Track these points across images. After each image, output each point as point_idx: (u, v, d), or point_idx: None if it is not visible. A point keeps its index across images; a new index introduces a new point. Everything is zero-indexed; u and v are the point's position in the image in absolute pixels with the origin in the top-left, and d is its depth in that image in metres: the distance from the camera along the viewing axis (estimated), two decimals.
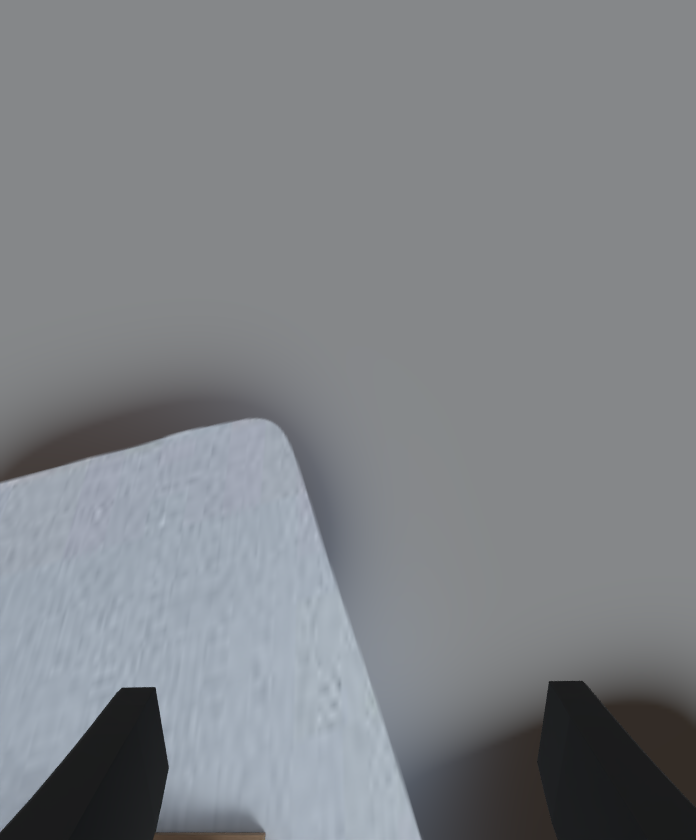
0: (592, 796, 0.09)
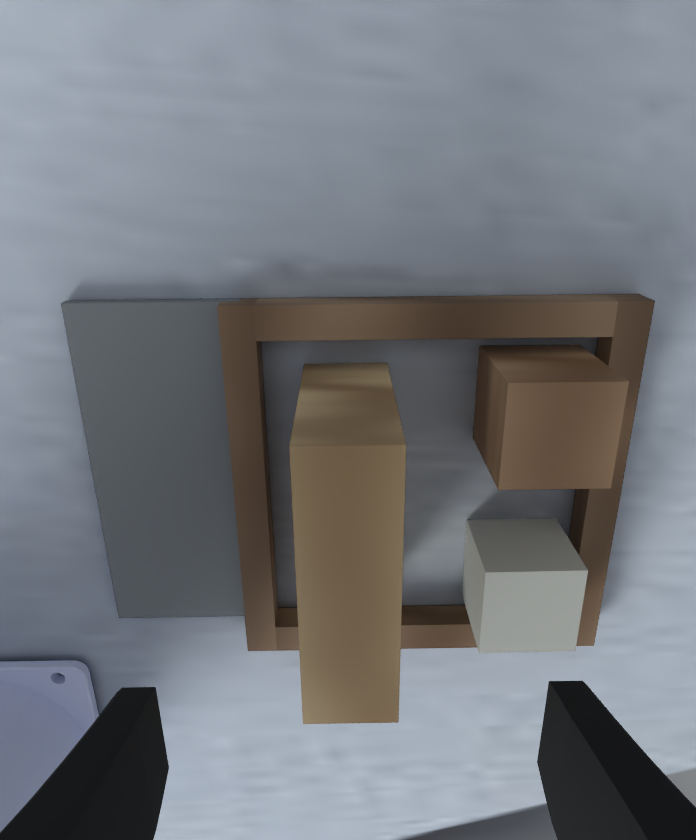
0: (592, 796, 0.09)
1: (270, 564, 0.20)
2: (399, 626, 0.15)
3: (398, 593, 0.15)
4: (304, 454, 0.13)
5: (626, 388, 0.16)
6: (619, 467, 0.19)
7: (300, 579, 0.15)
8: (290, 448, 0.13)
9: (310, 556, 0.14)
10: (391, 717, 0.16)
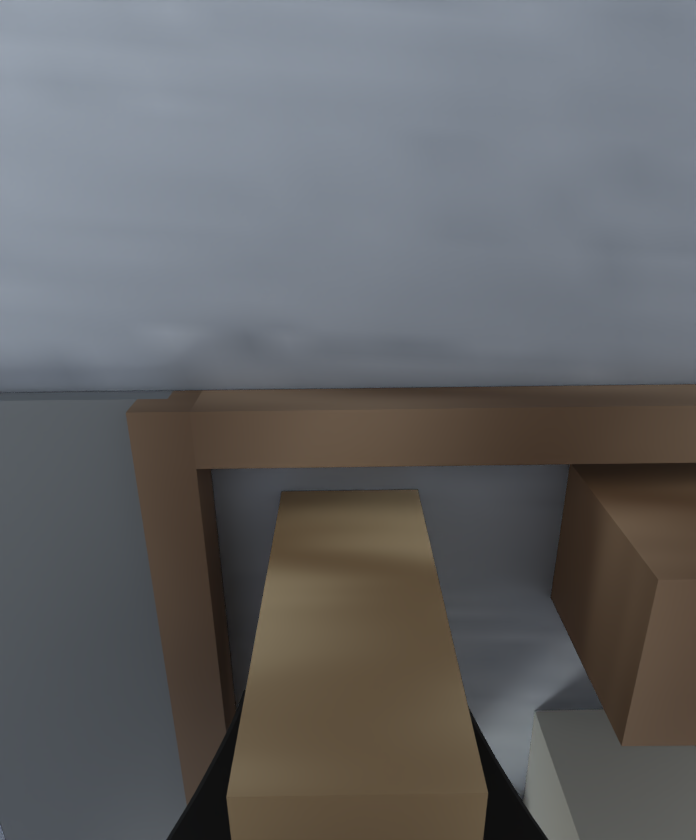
0: None
1: None
2: None
3: None
4: (262, 811, 0.06)
5: None
6: None
7: None
8: (229, 801, 0.06)
9: None
10: None
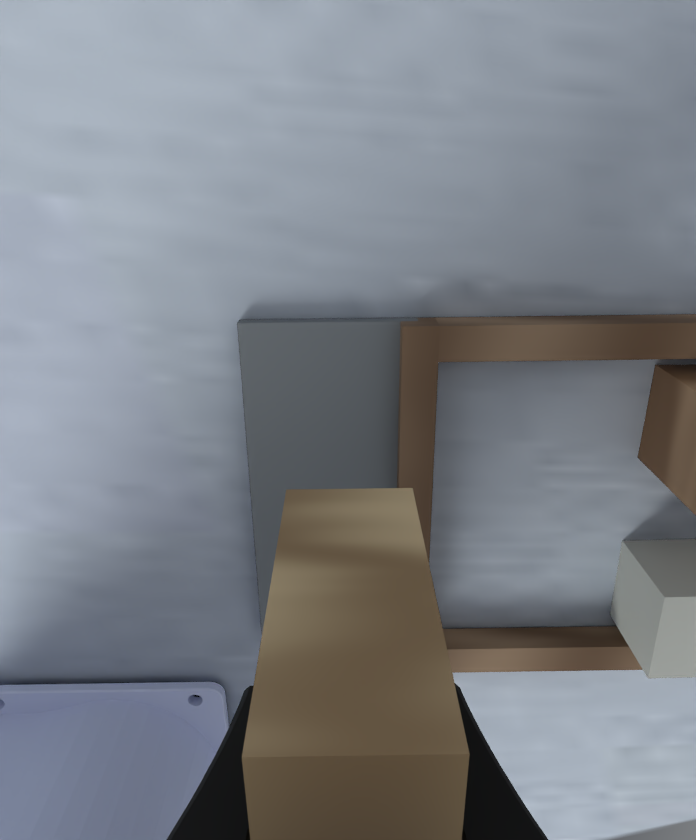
0: None
1: None
2: None
3: None
4: (271, 769, 0.07)
5: None
6: None
7: None
8: (244, 760, 0.07)
9: None
10: None
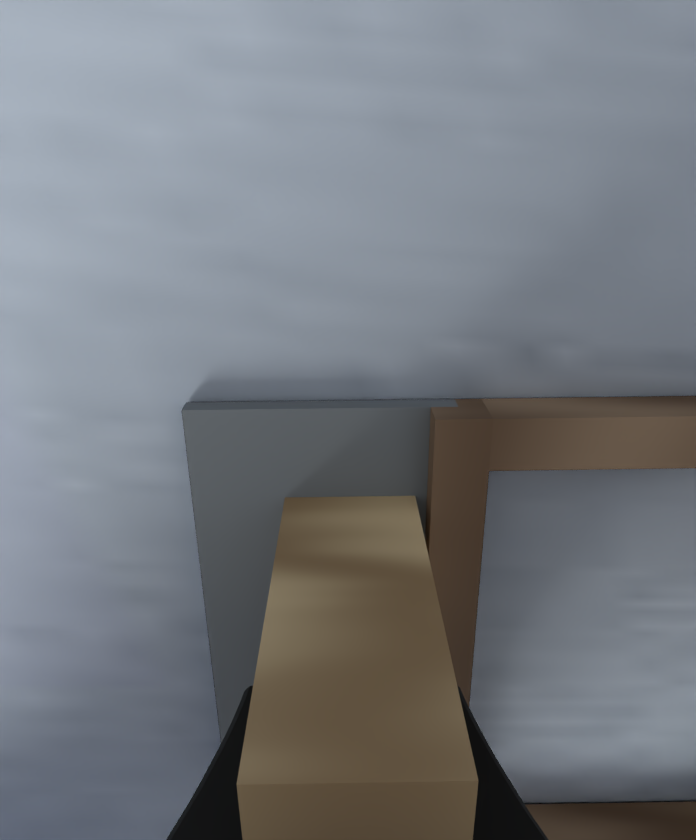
0: None
1: None
2: None
3: None
4: (268, 798, 0.07)
5: None
6: None
7: None
8: (239, 788, 0.06)
9: None
10: None
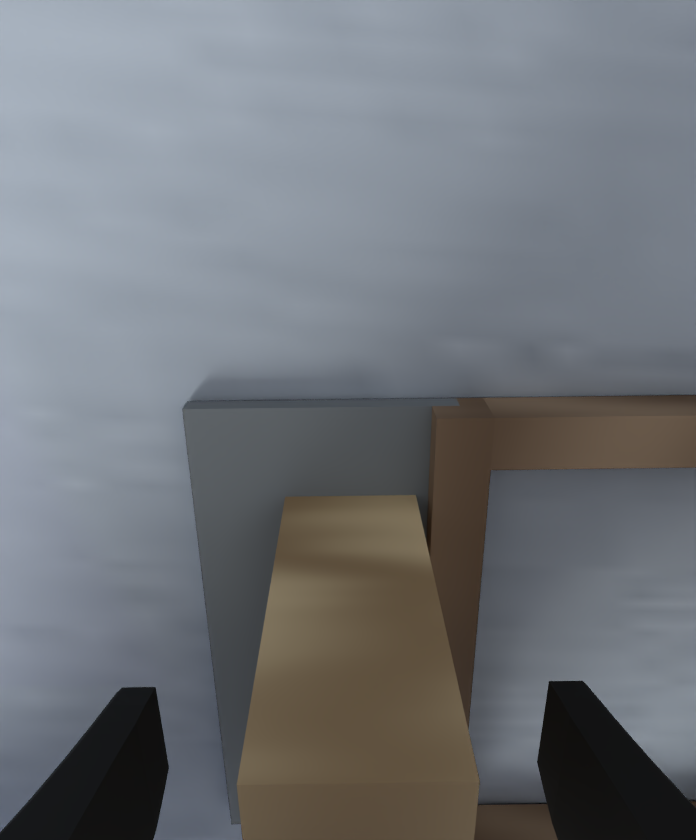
0: (592, 796, 0.09)
1: None
2: None
3: None
4: (269, 798, 0.07)
5: None
6: None
7: None
8: (239, 788, 0.06)
9: None
10: None
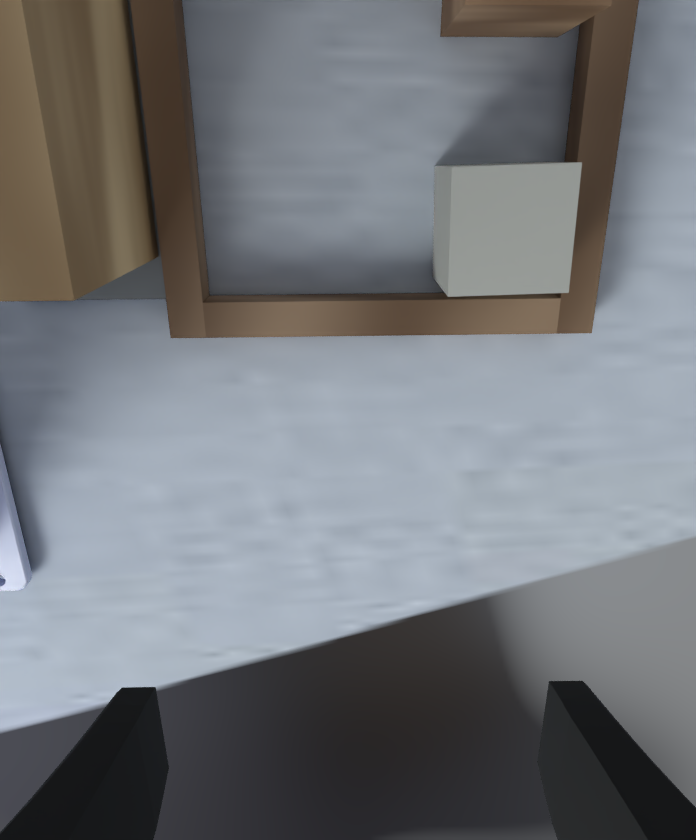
0: (592, 796, 0.09)
1: (192, 207, 0.17)
2: (39, 118, 0.11)
3: (26, 54, 0.10)
4: None
5: None
6: (623, 56, 0.15)
7: None
8: None
9: None
10: (63, 291, 0.12)
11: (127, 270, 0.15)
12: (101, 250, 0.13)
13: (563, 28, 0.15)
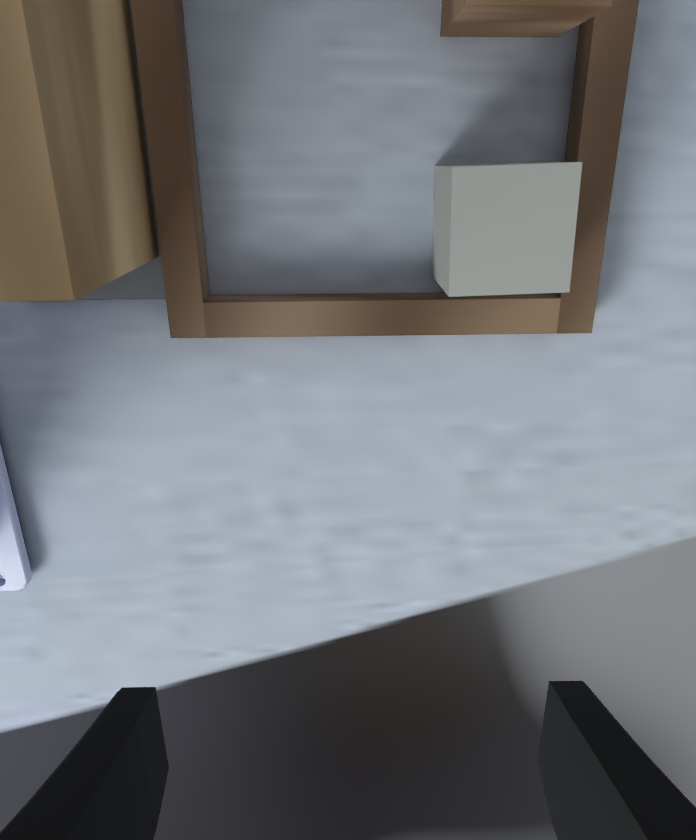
0: (592, 796, 0.09)
1: (192, 207, 0.17)
2: (39, 118, 0.11)
3: (26, 54, 0.10)
4: None
5: None
6: (623, 56, 0.15)
7: None
8: None
9: None
10: (63, 291, 0.12)
11: (127, 270, 0.15)
12: (101, 250, 0.13)
13: (563, 28, 0.15)
